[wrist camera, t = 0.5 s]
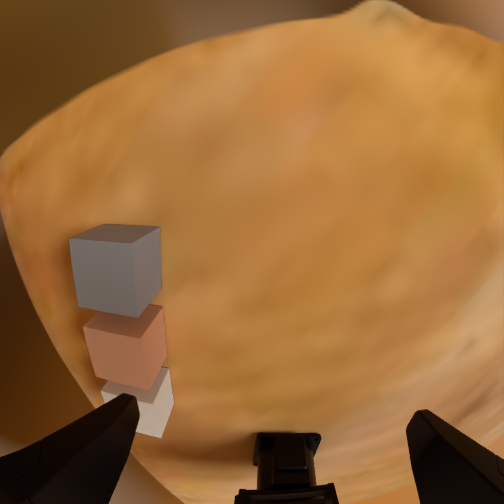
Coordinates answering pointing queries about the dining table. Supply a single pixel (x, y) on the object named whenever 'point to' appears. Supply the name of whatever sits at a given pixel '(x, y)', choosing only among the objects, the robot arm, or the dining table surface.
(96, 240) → the grey cube
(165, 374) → the white cube
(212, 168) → the dining table surface
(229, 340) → the dining table surface
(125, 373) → the terracotta cube
